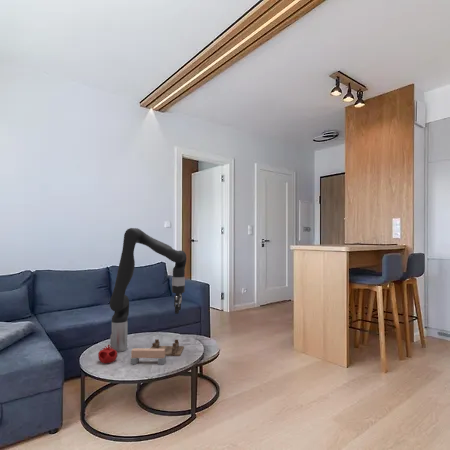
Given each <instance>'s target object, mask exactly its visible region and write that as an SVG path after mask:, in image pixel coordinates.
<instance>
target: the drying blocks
mask: <svg viewBox="0 0 450 450" xmlns="http://www.w3.org/2000/svg"><path fill="white" fill-rule="evenodd" d="M166 357H167V356H166V355H165V357H164V358H157V365H159V366H161V365H164V364H165V362H166V360H167V359H166ZM139 361H140V358H131V357H130V365H137V364H138V362H139Z"/></svg>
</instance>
